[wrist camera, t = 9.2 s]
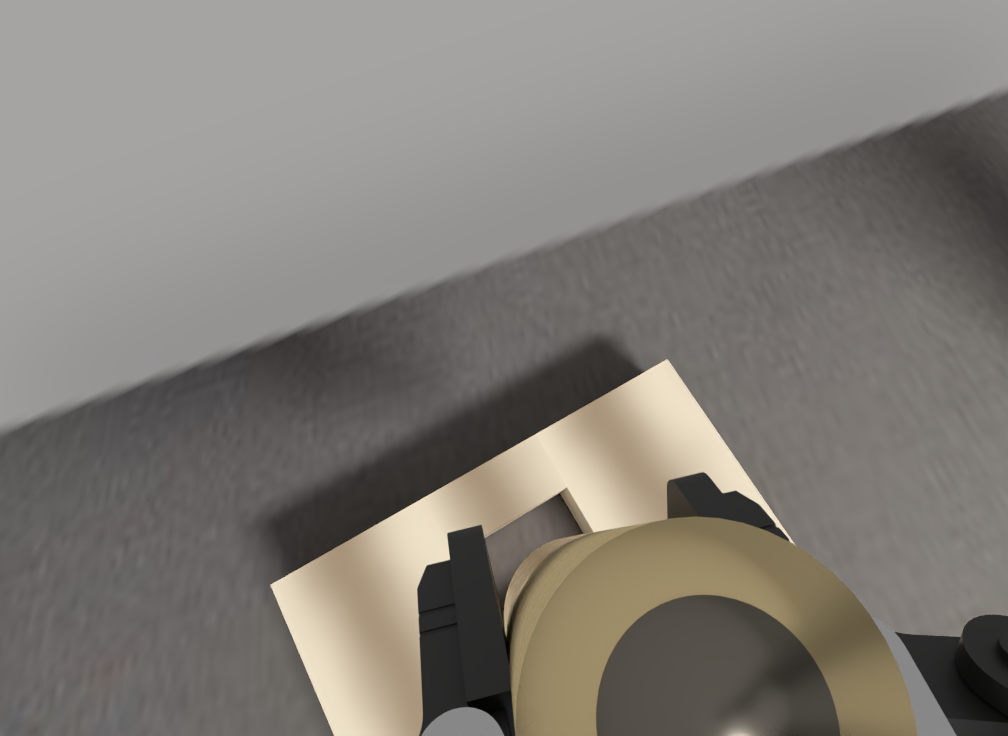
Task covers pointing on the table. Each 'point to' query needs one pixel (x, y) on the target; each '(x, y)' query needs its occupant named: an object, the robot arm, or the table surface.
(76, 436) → the table surface
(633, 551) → the bushing
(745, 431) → the table surface
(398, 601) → the jig
